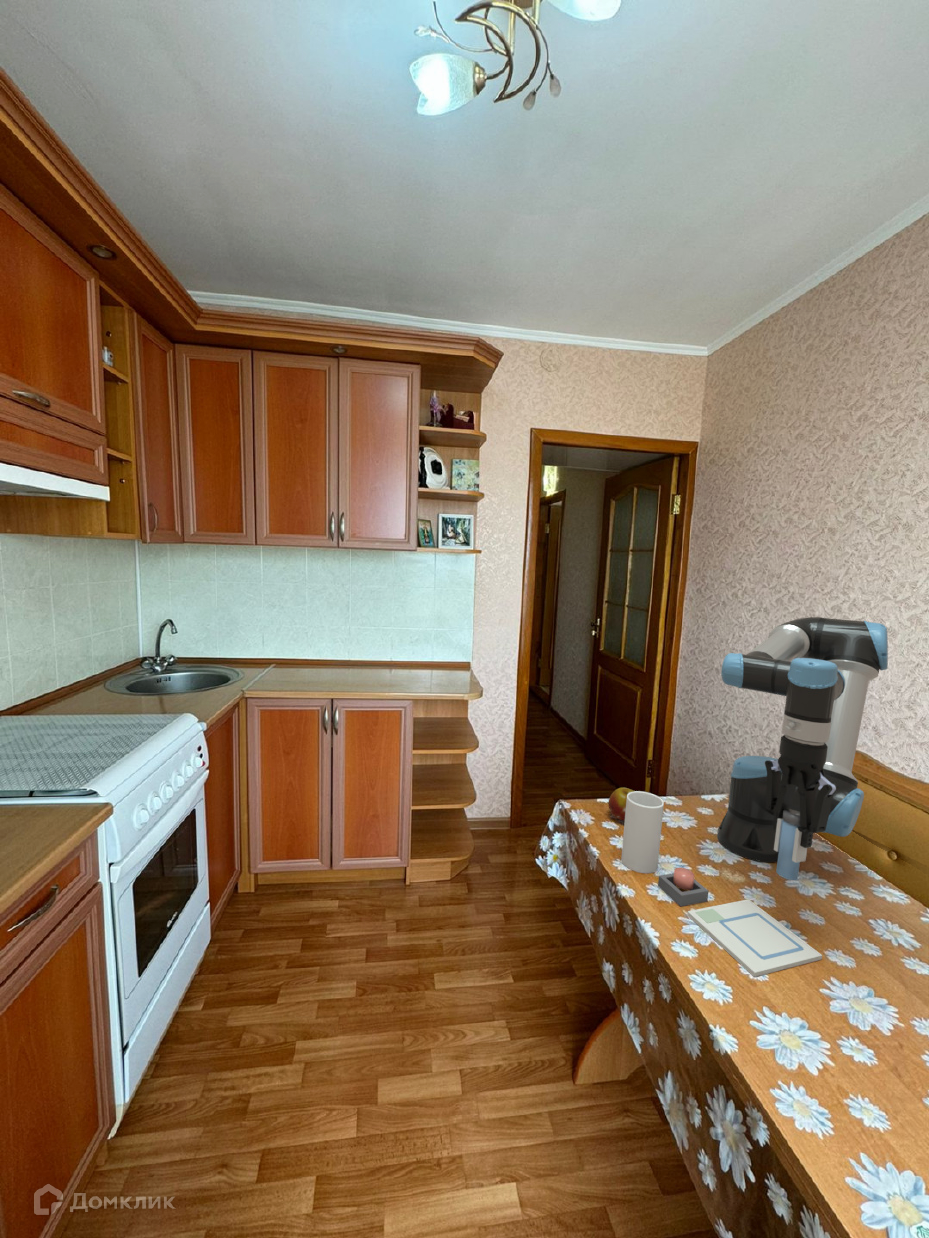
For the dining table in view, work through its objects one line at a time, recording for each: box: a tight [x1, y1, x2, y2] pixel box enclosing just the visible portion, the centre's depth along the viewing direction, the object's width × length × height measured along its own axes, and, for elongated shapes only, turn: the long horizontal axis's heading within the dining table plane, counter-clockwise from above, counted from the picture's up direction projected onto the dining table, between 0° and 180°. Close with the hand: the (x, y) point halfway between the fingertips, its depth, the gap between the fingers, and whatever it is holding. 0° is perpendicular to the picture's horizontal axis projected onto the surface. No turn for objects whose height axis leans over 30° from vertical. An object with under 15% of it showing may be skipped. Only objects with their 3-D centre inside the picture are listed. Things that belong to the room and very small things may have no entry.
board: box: [686, 899, 823, 978], centre depth 97 cm, size 16×16×1 cm
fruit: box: [608, 787, 635, 822], centre depth 141 cm, size 10×9×8 cm
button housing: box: [657, 872, 709, 907], centre depth 109 cm, size 7×7×2 cm
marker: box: [775, 809, 801, 881], centre depth 98 cm, size 4×4×12 cm
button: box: [673, 867, 695, 891], centre depth 108 cm, size 4×4×2 cm
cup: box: [620, 790, 665, 874], centre depth 119 cm, size 8×8×16 cm
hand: (789, 854), depth 98 cm, fingers closed on marker, 3 cm apart
